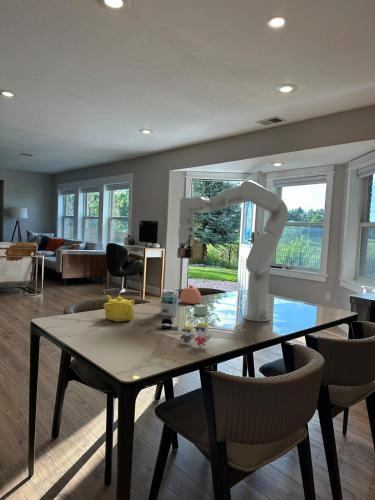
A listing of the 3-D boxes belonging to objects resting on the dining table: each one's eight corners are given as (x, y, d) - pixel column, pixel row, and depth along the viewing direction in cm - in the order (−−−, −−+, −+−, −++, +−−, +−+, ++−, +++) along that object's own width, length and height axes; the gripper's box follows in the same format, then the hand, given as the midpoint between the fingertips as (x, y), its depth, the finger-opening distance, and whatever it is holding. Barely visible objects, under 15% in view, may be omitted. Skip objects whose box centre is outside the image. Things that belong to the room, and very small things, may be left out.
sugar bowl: (178, 304, 198) (179, 286, 197) (180, 300, 212) (180, 282, 211) (201, 305, 197) (201, 287, 197) (200, 301, 211) (201, 283, 211)
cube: (206, 315, 176) (207, 306, 175) (198, 315, 174) (199, 306, 173) (202, 313, 180) (202, 304, 179) (194, 313, 178) (194, 304, 177)
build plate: (150, 331, 145) (151, 319, 145) (152, 326, 153) (153, 315, 152) (181, 332, 145) (181, 321, 145) (181, 327, 152) (182, 317, 152)
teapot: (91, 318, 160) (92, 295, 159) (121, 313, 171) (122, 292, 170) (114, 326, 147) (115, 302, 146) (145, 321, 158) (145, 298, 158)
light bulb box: (174, 316, 169) (175, 294, 169) (160, 315, 170) (161, 293, 170) (178, 311, 180) (179, 290, 179) (165, 310, 181) (166, 289, 181)
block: (192, 258, 184) (193, 248, 184) (182, 258, 181) (182, 248, 181) (187, 257, 189) (187, 247, 189) (177, 257, 187) (177, 247, 186)
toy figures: (178, 342, 130) (179, 320, 129) (184, 340, 133) (186, 318, 133) (206, 350, 123) (207, 326, 123) (212, 347, 127) (214, 323, 126)
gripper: (200, 222, 178) (199, 258, 179) (185, 222, 194) (184, 255, 195) (187, 221, 175) (185, 258, 176) (173, 221, 190) (171, 255, 191)
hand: (185, 256), depth 185 cm, fingers closed on block, 6 cm apart
